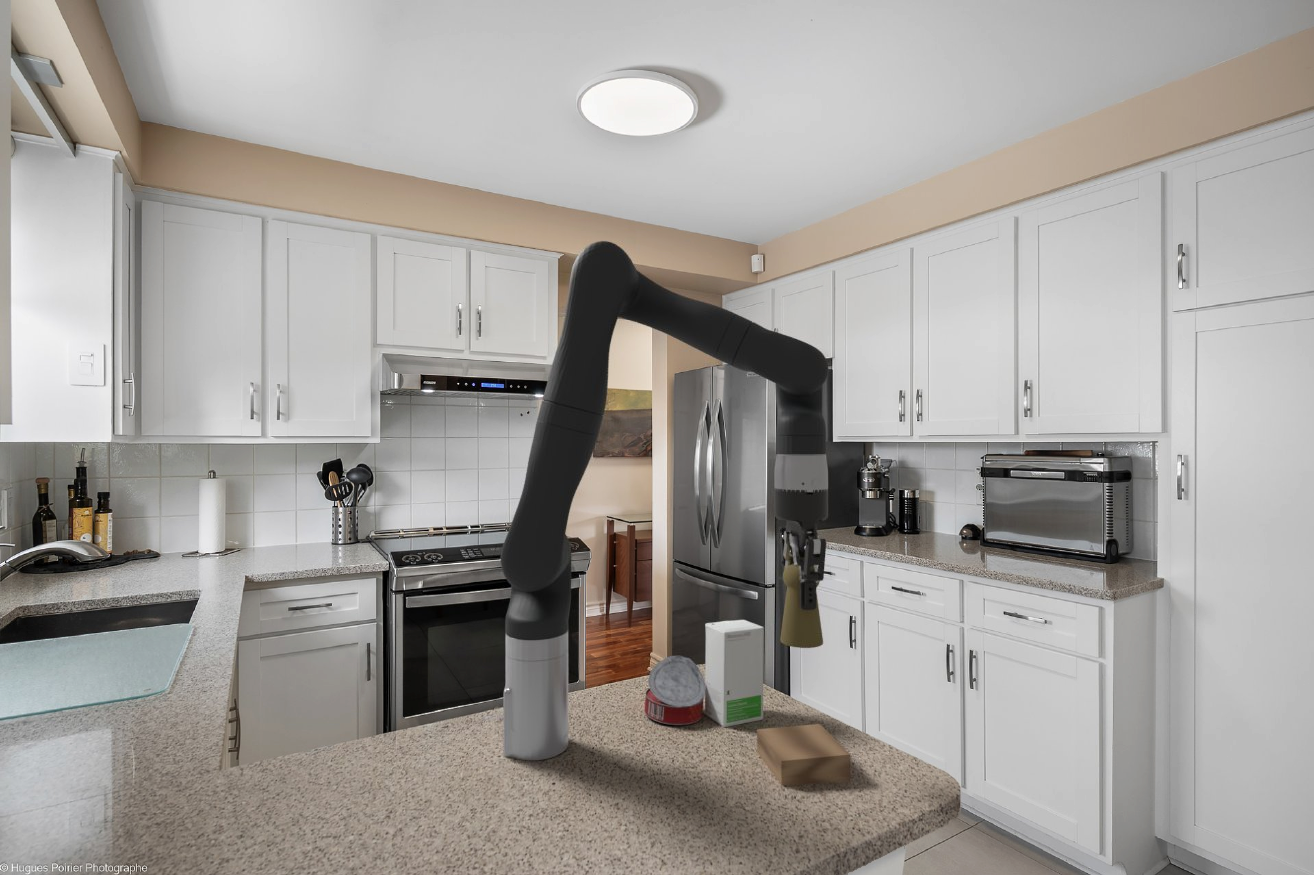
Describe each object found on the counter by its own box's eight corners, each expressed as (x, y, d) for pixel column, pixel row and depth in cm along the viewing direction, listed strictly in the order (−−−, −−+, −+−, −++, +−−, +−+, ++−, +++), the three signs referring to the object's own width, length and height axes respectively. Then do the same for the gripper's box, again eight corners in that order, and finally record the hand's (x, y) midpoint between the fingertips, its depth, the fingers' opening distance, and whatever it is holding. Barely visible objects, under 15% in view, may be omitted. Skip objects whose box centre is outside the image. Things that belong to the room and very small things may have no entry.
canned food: (698, 735, 115) (728, 689, 114) (670, 750, 107) (702, 700, 105) (651, 690, 121) (679, 645, 119) (621, 700, 112) (651, 652, 111)
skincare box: (723, 729, 108) (723, 633, 108) (702, 714, 114) (702, 622, 114) (765, 719, 112) (765, 626, 112) (743, 705, 118) (743, 617, 118)
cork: (824, 649, 92) (823, 569, 92) (779, 646, 93) (779, 568, 93) (822, 636, 98) (822, 561, 98) (780, 634, 99) (780, 560, 99)
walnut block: (781, 790, 90) (781, 761, 90) (757, 756, 100) (756, 729, 100) (850, 783, 92) (850, 754, 92) (819, 750, 102) (819, 724, 102)
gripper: (762, 482, 103) (762, 593, 103) (791, 490, 88) (791, 618, 88) (809, 482, 103) (809, 592, 103) (845, 489, 89) (845, 616, 89)
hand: (801, 603), depth 96 cm, fingers closed on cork, 5 cm apart
